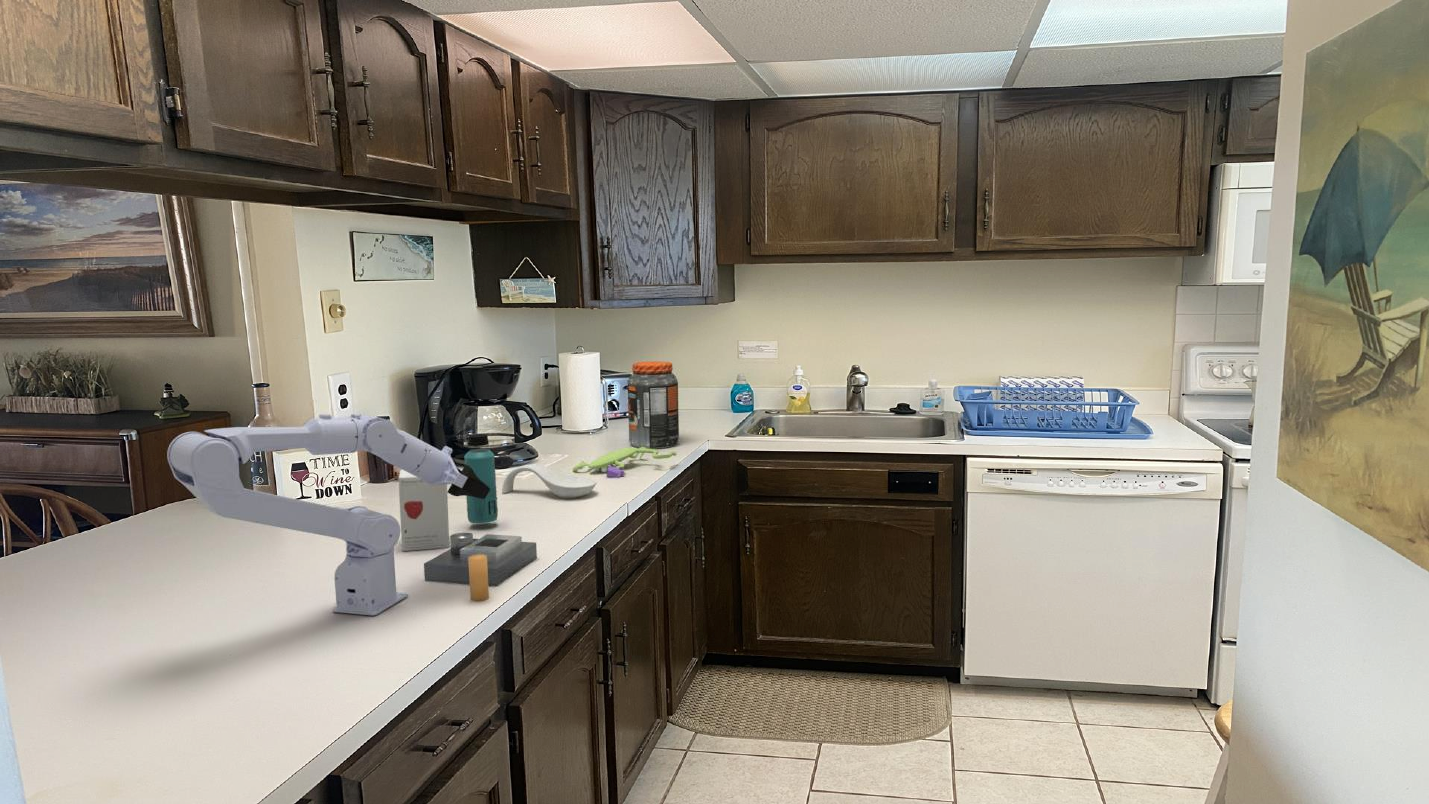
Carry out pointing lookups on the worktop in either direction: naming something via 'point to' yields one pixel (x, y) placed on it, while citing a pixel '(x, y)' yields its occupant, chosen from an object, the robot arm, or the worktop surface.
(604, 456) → the figurine
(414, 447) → the robot arm
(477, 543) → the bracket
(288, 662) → the worktop surface
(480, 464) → the beverage bottle
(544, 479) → the spoon rest
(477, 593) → the pin
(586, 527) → the worktop surface
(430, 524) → the supplement box
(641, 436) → the supplement tub
